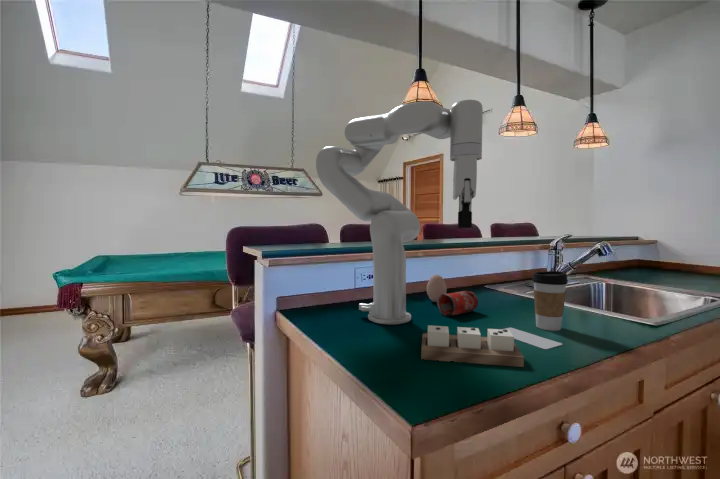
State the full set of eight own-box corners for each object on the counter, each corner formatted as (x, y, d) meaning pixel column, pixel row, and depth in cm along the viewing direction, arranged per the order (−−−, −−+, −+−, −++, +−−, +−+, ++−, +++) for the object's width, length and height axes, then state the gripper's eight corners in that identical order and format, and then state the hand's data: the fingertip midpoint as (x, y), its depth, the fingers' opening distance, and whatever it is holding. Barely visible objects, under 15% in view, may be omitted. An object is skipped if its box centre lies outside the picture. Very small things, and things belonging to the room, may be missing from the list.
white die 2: (458, 351, 76) (458, 332, 75) (457, 344, 80) (457, 326, 80) (480, 353, 75) (480, 333, 74) (477, 345, 79) (478, 327, 79)
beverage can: (480, 313, 110) (481, 292, 110) (453, 319, 104) (453, 296, 104) (463, 308, 116) (463, 288, 116) (436, 313, 110) (436, 292, 110)
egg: (443, 305, 120) (443, 276, 119) (423, 302, 123) (424, 275, 123) (448, 301, 126) (449, 274, 125) (430, 299, 129) (430, 272, 128)
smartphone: (509, 326, 95) (564, 344, 82) (509, 328, 95) (564, 346, 82) (491, 331, 92) (546, 349, 79) (491, 333, 92) (546, 352, 79)
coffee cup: (571, 333, 90) (573, 275, 90) (535, 331, 92) (537, 274, 91) (559, 323, 99) (561, 270, 98) (527, 321, 100) (528, 269, 99)
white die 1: (427, 349, 77) (427, 330, 77) (427, 342, 81) (427, 324, 81) (448, 351, 76) (449, 331, 76) (447, 343, 80) (448, 325, 80)
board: (421, 359, 74) (421, 349, 74) (422, 341, 85) (422, 333, 85) (523, 367, 70) (523, 357, 70) (511, 347, 81) (511, 338, 81)
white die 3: (490, 353, 74) (490, 334, 74) (487, 346, 79) (487, 327, 78) (513, 355, 73) (513, 335, 73) (508, 347, 78) (509, 328, 78)
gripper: (448, 159, 95) (447, 227, 97) (451, 148, 81) (450, 228, 82) (477, 158, 94) (476, 227, 95) (486, 147, 79) (484, 228, 80)
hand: (464, 227), depth 89 cm, fingers closed
